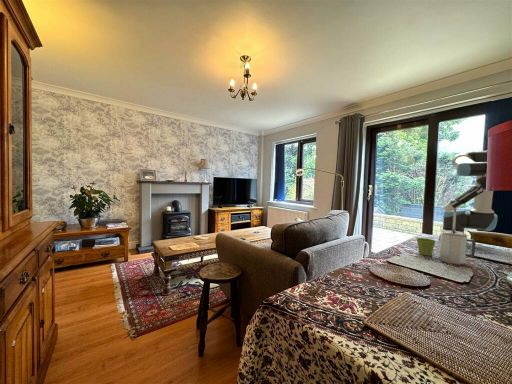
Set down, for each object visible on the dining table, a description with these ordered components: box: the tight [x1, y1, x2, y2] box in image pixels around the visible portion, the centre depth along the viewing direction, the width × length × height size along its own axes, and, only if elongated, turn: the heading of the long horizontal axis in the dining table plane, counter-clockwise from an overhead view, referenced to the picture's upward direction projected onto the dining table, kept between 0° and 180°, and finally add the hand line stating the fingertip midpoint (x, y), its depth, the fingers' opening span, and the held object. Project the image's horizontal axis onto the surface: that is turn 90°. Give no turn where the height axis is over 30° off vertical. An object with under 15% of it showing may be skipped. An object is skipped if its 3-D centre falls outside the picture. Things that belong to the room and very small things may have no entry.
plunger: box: [449, 199, 462, 233], centre depth 117 cm, size 7×7×21 cm
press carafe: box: [438, 229, 476, 266], centre depth 117 cm, size 11×14×16 cm
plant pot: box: [415, 237, 437, 257], centre depth 129 cm, size 9×9×9 cm
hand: (445, 210), depth 119 cm, fingers closed on plunger, 4 cm apart
